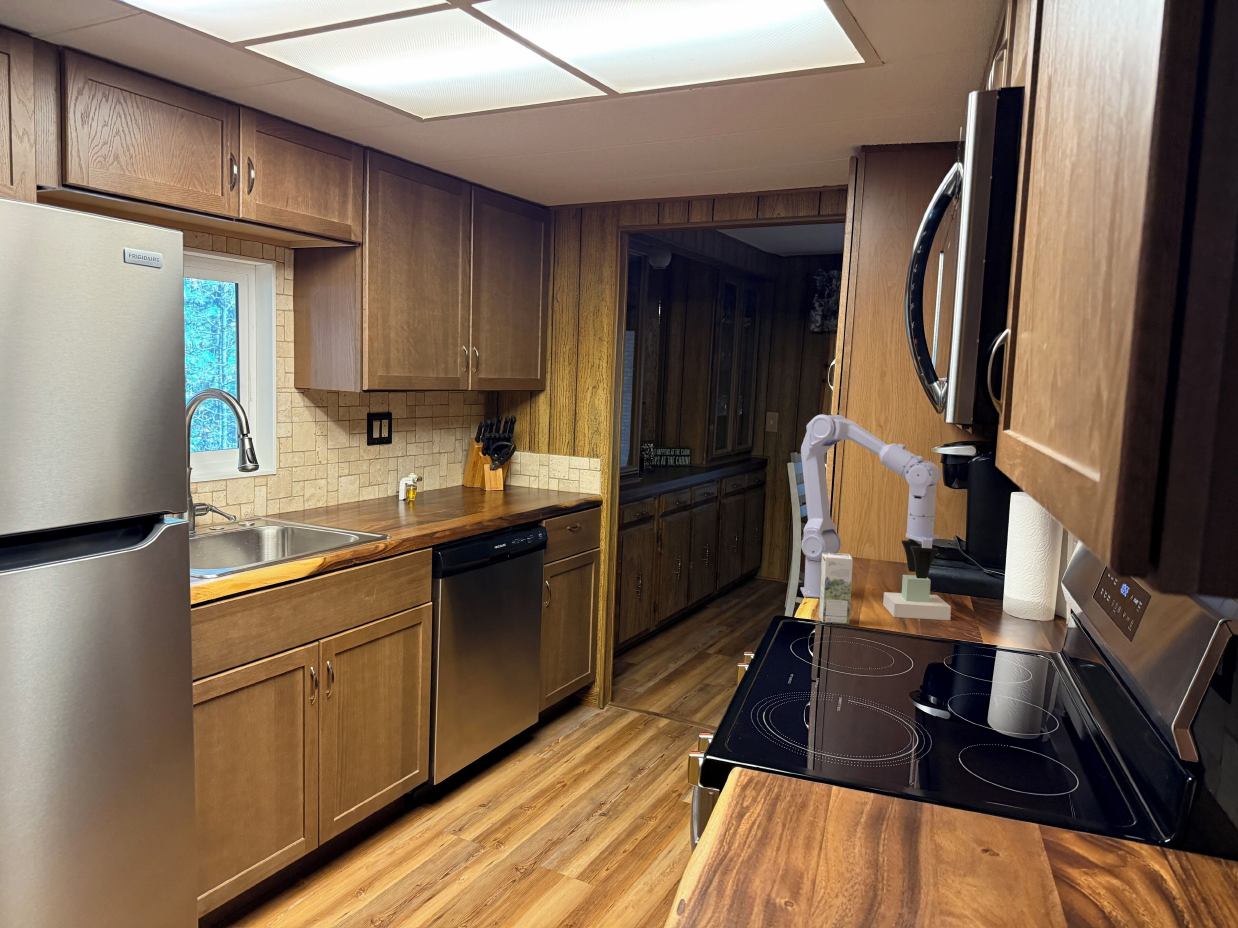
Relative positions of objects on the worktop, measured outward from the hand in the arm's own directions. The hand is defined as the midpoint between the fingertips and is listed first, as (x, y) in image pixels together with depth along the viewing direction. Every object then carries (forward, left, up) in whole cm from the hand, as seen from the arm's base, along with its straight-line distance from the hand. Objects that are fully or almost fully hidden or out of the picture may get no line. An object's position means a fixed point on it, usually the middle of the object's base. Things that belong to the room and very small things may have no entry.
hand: (917, 574), depth 193 cm
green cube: (0, 0, -6) cm, 6 cm away
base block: (0, 0, -9) cm, 9 cm away
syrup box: (+13, -20, -9) cm, 25 cm away
